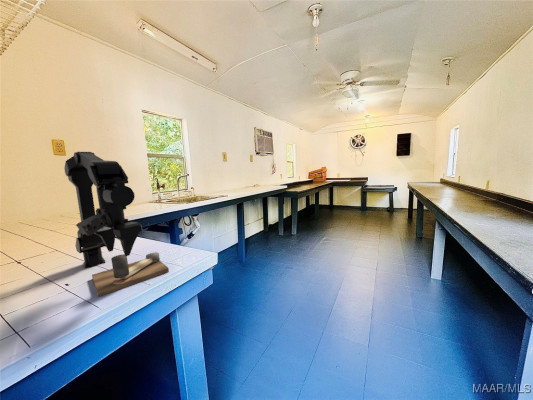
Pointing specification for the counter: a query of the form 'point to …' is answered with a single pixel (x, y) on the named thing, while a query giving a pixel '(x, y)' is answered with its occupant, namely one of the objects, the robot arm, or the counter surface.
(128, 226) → the robot arm
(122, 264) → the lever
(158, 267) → the board
